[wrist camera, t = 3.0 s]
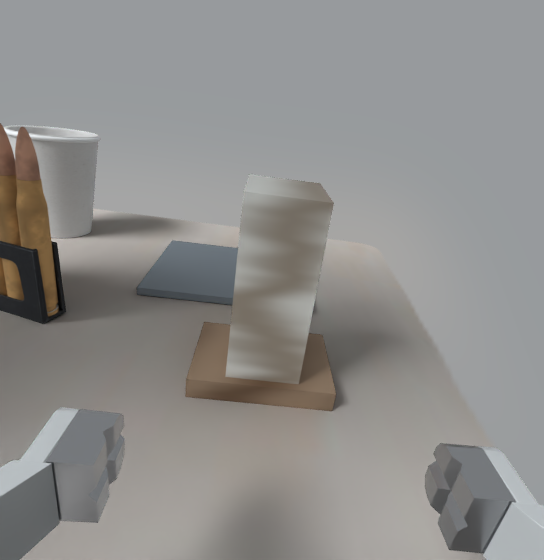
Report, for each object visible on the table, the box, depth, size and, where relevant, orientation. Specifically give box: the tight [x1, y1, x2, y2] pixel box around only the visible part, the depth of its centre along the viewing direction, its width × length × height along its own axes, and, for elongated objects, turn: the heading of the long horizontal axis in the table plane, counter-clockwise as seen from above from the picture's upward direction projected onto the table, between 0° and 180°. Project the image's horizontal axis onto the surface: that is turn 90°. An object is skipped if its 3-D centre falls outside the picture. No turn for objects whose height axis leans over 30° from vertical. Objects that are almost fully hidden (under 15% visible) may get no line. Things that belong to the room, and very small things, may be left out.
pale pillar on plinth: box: [185, 174, 336, 411], centre depth 22 cm, size 8×6×11 cm
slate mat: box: [137, 240, 238, 305], centre depth 36 cm, size 14×12×1 cm
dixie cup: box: [4, 126, 100, 238], centre depth 40 cm, size 8×8×10 cm
